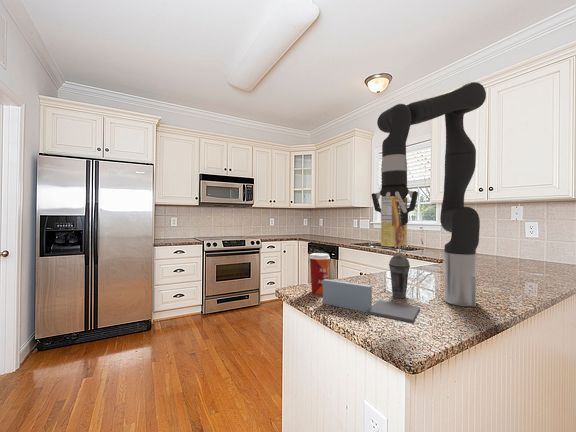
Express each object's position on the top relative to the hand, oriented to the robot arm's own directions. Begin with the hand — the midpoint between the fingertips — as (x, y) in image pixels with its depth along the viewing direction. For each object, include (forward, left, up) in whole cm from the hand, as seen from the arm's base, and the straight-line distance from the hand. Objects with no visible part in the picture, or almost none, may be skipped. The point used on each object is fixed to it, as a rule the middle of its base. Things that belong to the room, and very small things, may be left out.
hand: (394, 224), depth 86 cm
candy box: (0, 0, -7) cm, 7 cm away
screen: (+14, +5, -27) cm, 31 cm away
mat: (0, 0, -27) cm, 27 cm away
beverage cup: (+2, -18, -27) cm, 33 cm away
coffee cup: (+29, -6, -27) cm, 40 cm away
